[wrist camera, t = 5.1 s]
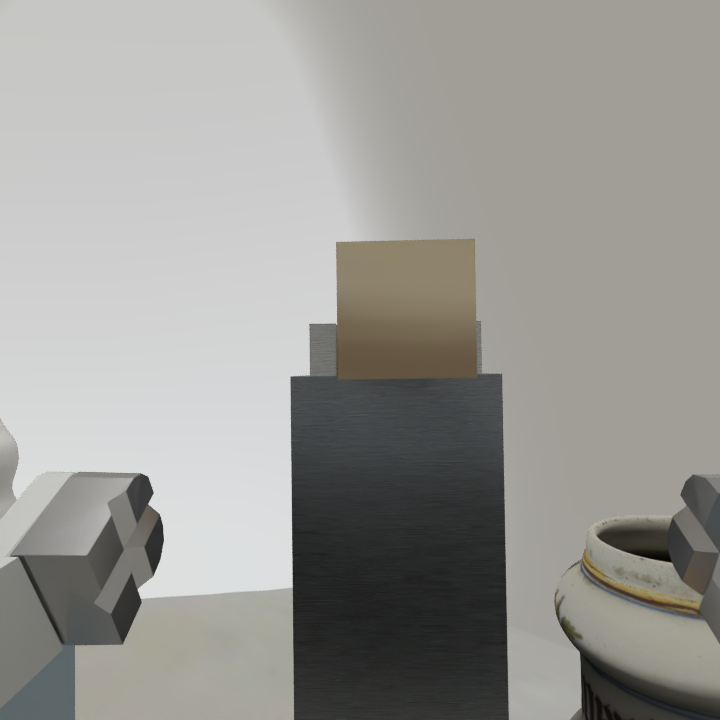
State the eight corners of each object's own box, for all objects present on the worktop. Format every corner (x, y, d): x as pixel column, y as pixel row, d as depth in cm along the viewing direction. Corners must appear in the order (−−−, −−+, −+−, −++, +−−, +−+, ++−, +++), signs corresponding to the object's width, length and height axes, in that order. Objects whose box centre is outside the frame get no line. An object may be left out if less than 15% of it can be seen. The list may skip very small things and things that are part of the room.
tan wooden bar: (477, 377, 11) (475, 238, 11) (337, 379, 11) (336, 242, 11) (412, 373, 33) (412, 326, 33) (365, 373, 33) (364, 326, 33)
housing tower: (515, 1085, 19) (501, 321, 20) (298, 1077, 19) (290, 324, 20) (463, 810, 31) (455, 339, 32) (329, 807, 31) (323, 341, 32)
